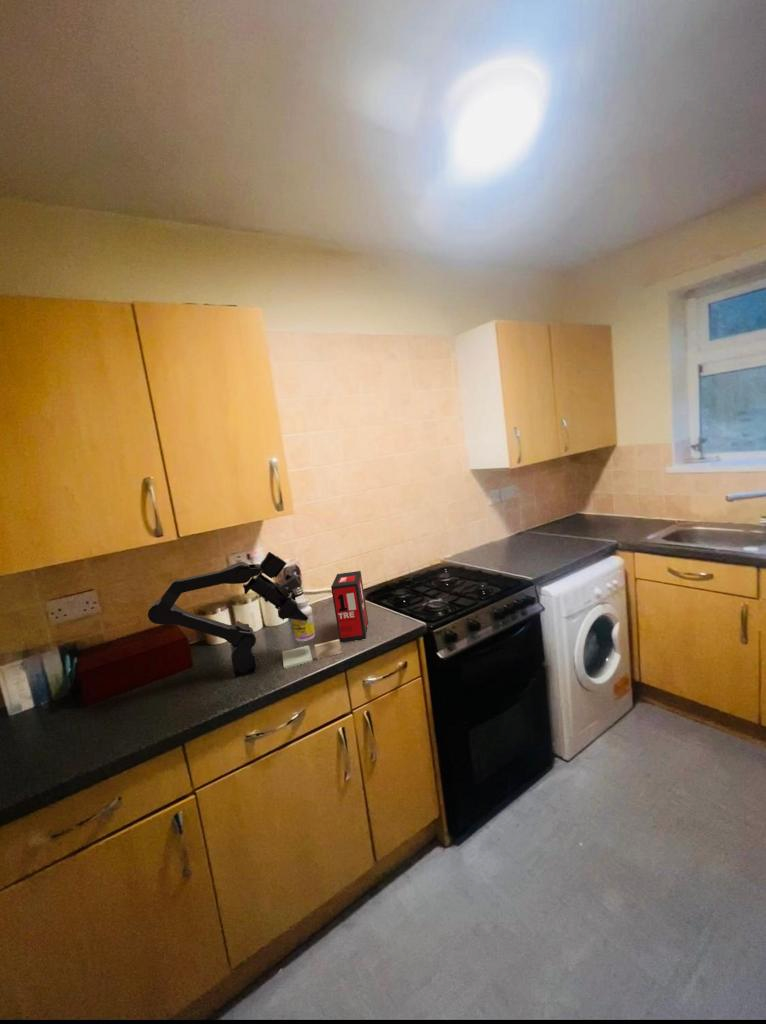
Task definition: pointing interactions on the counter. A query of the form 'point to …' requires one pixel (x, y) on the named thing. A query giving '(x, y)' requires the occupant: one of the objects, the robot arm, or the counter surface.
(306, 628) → the supplement bottle
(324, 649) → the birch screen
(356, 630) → the cleaning product box
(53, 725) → the counter surface
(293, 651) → the sage board
